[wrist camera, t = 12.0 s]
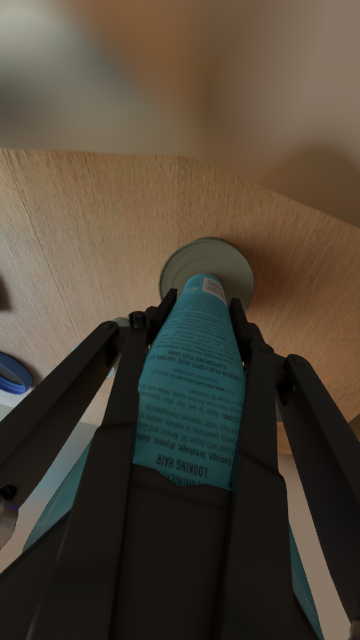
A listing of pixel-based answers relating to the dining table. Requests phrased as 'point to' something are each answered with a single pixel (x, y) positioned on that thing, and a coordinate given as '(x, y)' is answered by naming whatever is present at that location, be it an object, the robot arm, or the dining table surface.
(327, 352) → the dining table surface
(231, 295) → the can
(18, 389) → the blue round tray
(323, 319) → the dining table surface
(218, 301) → the tube
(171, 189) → the dining table surface
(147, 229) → the dining table surface
